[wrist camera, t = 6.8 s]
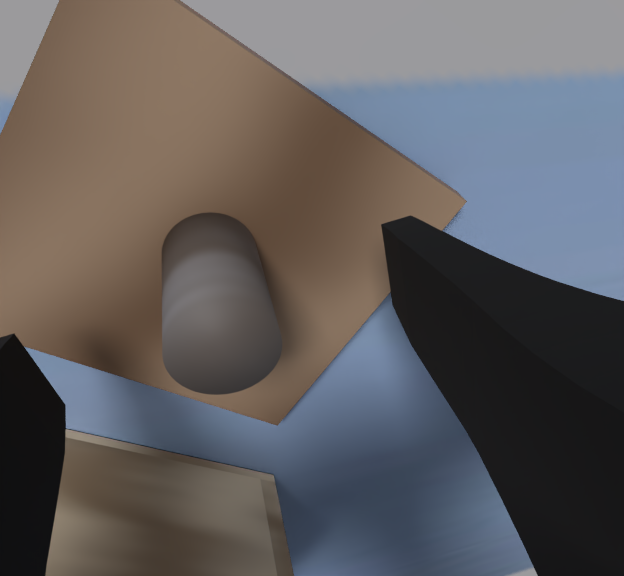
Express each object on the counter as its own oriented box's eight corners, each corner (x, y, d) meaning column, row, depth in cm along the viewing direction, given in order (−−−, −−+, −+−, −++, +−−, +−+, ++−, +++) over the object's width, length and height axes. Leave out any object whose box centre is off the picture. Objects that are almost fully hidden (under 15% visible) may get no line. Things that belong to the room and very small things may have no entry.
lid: (-63, 286, 13) (-148, 436, 10) (92, -64, 10) (55, -41, 6) (271, 399, 18) (300, 530, 14) (448, 183, 15) (544, 278, 11)
